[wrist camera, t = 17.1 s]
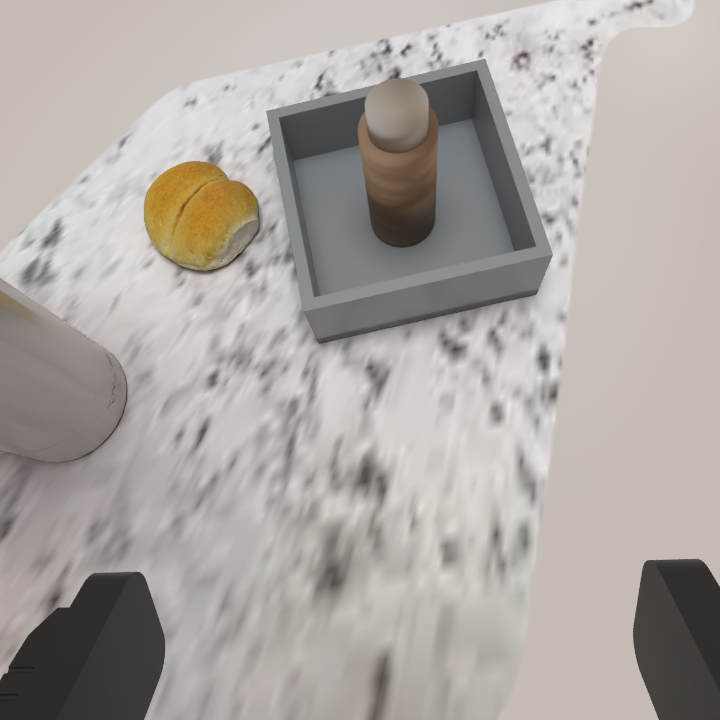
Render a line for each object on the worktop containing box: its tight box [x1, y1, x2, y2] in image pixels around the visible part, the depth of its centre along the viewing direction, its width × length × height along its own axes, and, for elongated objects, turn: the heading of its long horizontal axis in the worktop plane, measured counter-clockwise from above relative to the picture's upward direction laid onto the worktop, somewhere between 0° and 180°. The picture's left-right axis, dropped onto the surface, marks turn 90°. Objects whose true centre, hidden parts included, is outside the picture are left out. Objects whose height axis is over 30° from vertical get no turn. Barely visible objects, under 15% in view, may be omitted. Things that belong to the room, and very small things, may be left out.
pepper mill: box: [358, 78, 439, 247], centre depth 40 cm, size 5×5×12 cm
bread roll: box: [144, 161, 259, 270], centre depth 47 cm, size 8×9×4 cm
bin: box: [266, 59, 553, 343], centre depth 44 cm, size 16×16×6 cm
